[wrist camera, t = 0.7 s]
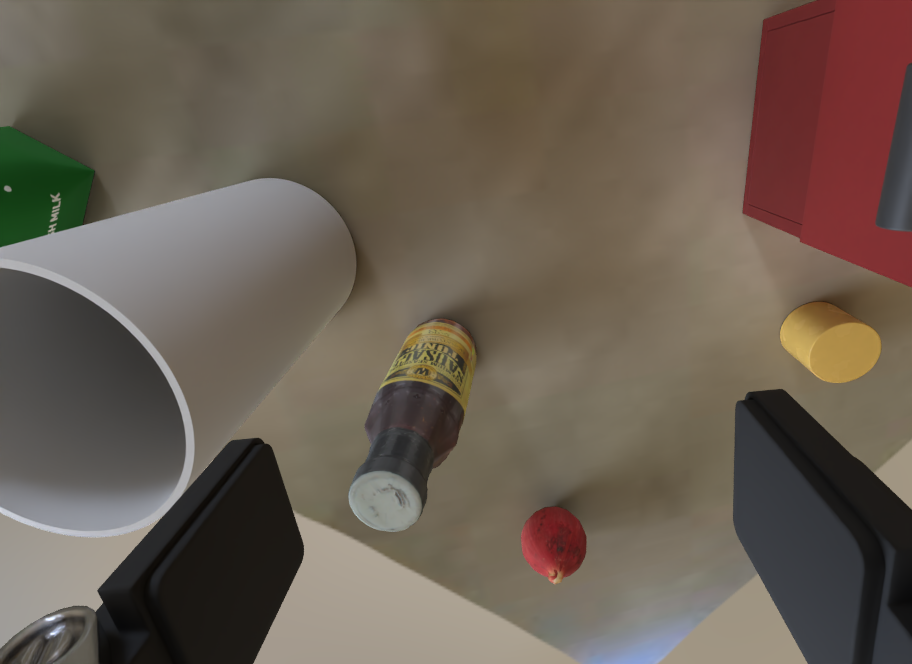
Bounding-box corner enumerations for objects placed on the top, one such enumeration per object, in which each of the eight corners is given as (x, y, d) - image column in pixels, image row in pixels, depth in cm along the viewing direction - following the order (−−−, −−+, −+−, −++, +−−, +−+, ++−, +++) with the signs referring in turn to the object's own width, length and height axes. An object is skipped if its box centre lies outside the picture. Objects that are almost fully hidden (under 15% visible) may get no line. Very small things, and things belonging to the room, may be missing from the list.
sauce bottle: (482, 319, 45) (464, 465, 26) (472, 385, 47) (449, 559, 29) (405, 308, 45) (334, 444, 26) (399, 374, 47) (330, 540, 29)
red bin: (1011, -9, 33) (1175, -48, 25) (958, 197, 38) (1081, 221, 30) (763, 19, 35) (840, -9, 27) (742, 213, 39) (802, 239, 31)
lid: (1295, -163, 12) (1024, -129, 12) (1095, 349, 17) (904, 360, 17) (854, -12, 26) (736, 1, 27) (813, 240, 31) (714, 248, 31)
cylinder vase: (387, 287, 44) (256, 479, 21) (268, 347, 47) (41, 570, 24) (303, 147, 40) (35, 193, 17) (180, 222, 44) (-185, 345, 21)
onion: (531, 481, 50) (535, 545, 43) (589, 497, 50) (603, 563, 43) (513, 527, 53) (514, 595, 45) (569, 542, 53) (579, 612, 45)
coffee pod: (784, 303, 42) (814, 324, 38) (850, 299, 41) (888, 320, 37) (776, 358, 44) (804, 384, 39) (839, 355, 43) (874, 381, 39)
